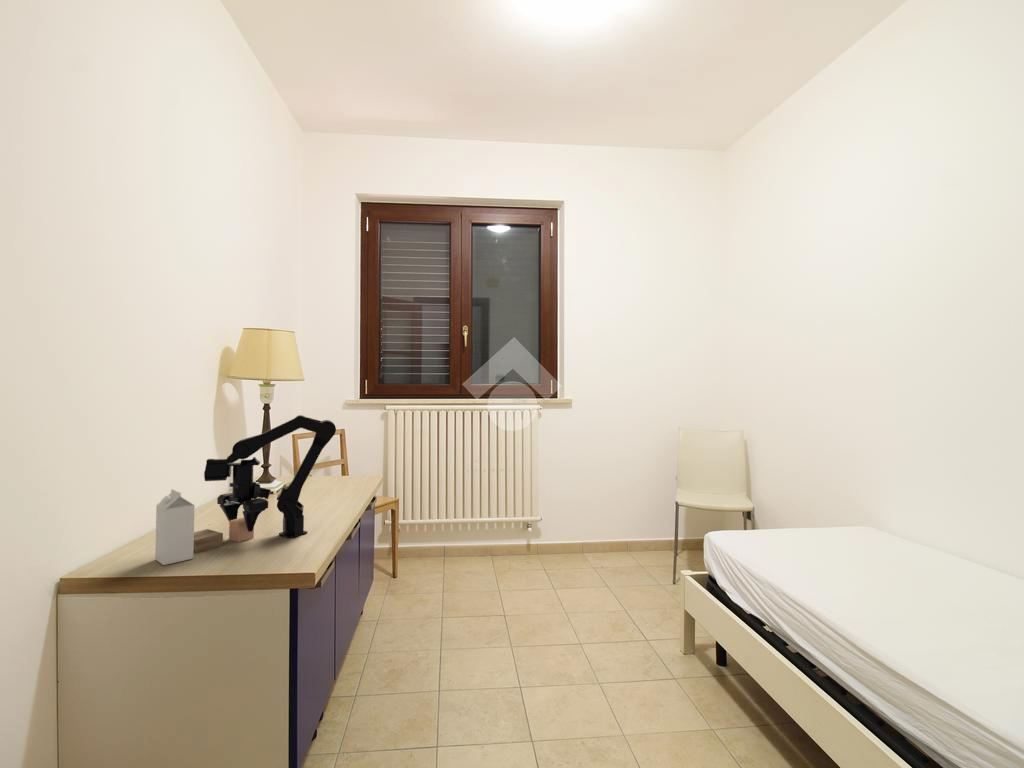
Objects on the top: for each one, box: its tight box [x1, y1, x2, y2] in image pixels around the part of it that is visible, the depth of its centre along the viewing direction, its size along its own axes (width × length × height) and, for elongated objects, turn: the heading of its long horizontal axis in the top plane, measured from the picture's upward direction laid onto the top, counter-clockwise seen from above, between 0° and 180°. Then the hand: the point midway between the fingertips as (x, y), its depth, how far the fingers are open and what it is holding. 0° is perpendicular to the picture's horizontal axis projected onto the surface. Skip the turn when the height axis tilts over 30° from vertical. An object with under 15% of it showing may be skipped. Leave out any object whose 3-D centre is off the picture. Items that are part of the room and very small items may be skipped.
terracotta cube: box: [228, 516, 255, 543], centre depth 158 cm, size 5×5×6 cm
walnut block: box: [193, 528, 224, 554], centre depth 149 cm, size 8×8×4 cm
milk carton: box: [154, 488, 195, 566], centre depth 138 cm, size 7×7×19 cm
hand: (241, 529), depth 158 cm, fingers open, 9 cm apart
